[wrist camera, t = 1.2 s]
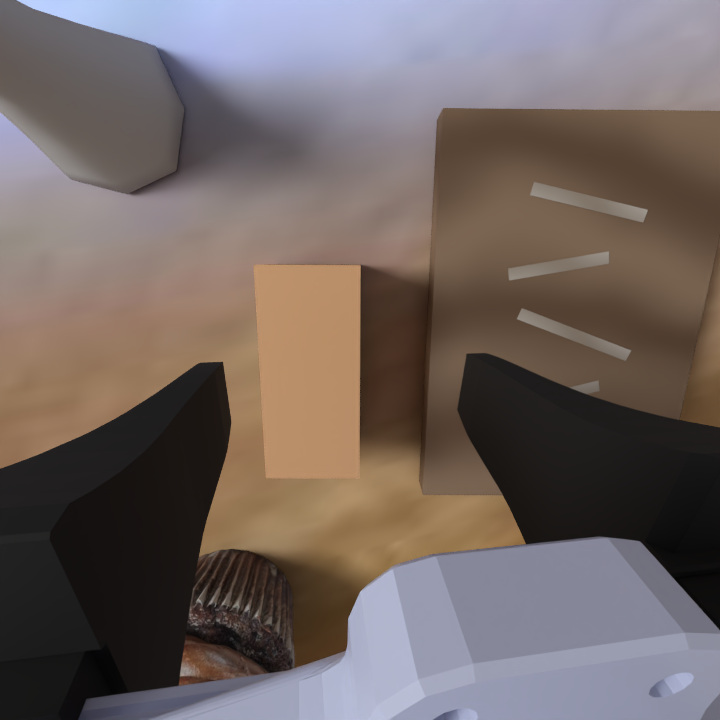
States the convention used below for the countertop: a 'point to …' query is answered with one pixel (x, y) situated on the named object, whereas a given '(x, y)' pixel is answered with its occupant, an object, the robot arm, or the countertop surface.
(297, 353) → the block
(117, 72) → the flask
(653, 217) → the board
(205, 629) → the cupcake
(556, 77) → the countertop surface
